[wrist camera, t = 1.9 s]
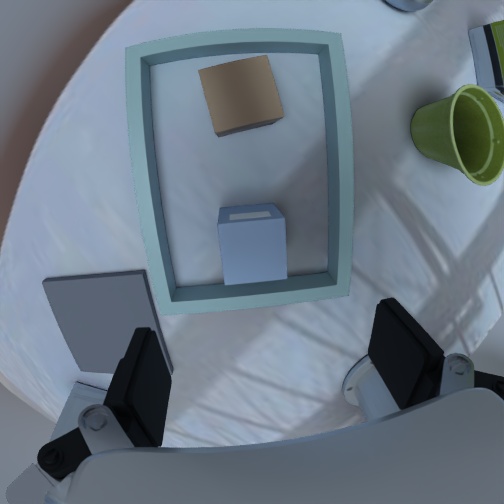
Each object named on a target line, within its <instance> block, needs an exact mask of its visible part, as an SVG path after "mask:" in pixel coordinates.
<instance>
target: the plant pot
mask: <svg viewBox="0 0 504 504" xmlns="http://www.w3.org/2000/svg"><path fill="white" fill-rule="evenodd" d="M411 134H412V138H413V141H414V144H415V146H416V147H417V149H418V150H419V151H420V152H421V153H422V154H423V155H425V156H426V157H428V158H431V159H433V160H436V161H439V162H441V163H444V164H446V165H449V166H451V167H454V168H456V169H458V170H460V171H461V172H462V173H463V174H465V176H466V177H467V178H468V179H469V180H471V181H472V182H473V183H475V184H478V185H481V186H487V185H490V184H492V183H494V182H495V181H496V180H497V179H498V177H499V176H500V174H501V173H502V170H503V168H504V119H503V117H502V114H501V112H500V109H499V107H498V105H497V104H496V102H495V101H494V99H493V98H492V96H491V95H490V94H489V93H488V92H486V91H485V90H484V89H483V88H481V87H480V86H477V85H473V84H468V85H464V86H462V87H461V88H459V89H458V90H457V91H456V93H454V94H453V95H451V96H450V97H448V98H445V99H443V100H440V101H437V102H434V103H431V104H429V105H426V106H423V107H421V108H419V109H418V110H417V111H416V113H415V115H414V117H413V119H412V121H411Z"/></svg>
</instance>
